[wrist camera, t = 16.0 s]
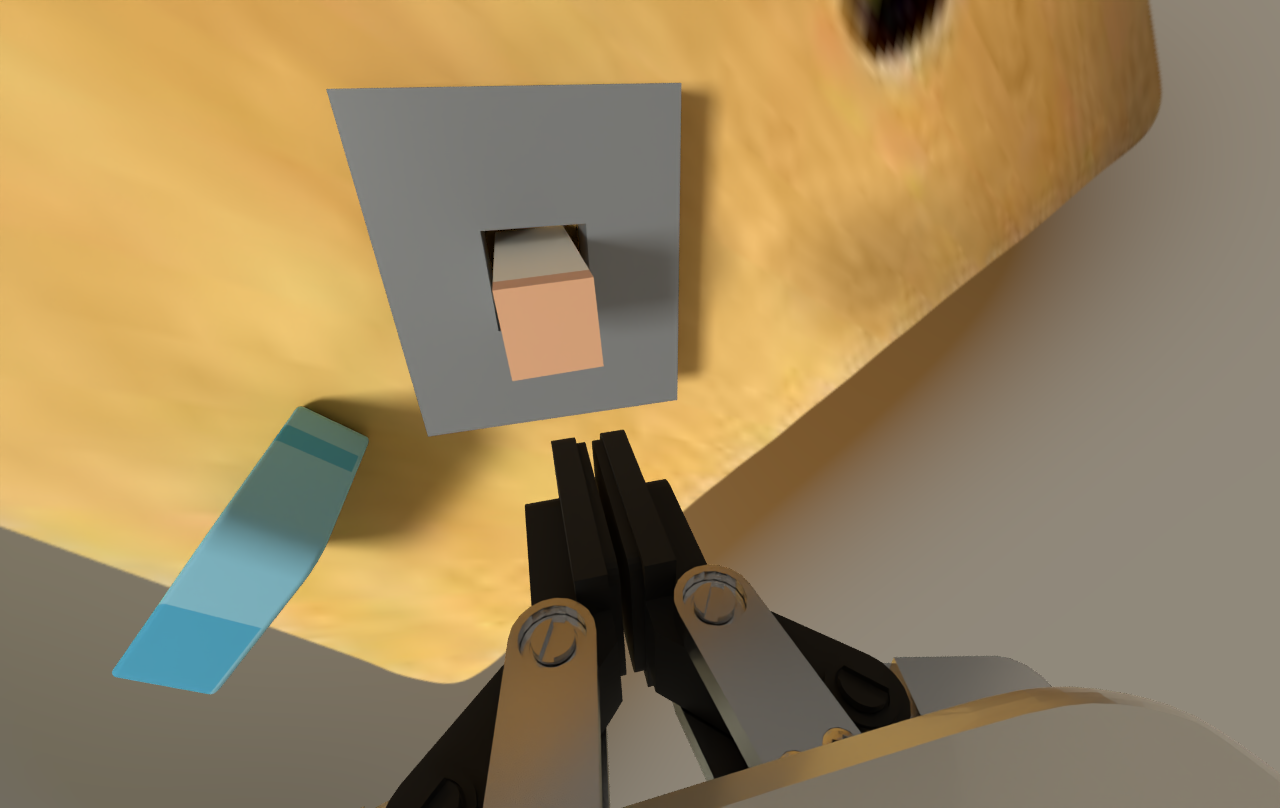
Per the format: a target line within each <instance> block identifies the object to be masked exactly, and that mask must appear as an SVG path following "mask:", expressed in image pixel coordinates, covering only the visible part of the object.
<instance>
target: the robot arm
mask: <svg viewBox="0 0 1280 808" xmlns="http://www.w3.org/2000/svg"><path fill="white" fill-rule="evenodd" d="M551 444H552V451H553V458H554V465H555V472H556V479H557V487H558V494H559V498H558V499H552V500H547V501H541V502H536V503H530V504H525V516H526V531H527V546H528V560H529V575H530V590H531V604H532V606H531V607H529V608H528V609H527V610H526V611H525V612H523V613H522V614H521V615H520V616H519V617H518V619H517V620H516V622H515V623H514V625H513V626H512V628H511V631H510V635H509V638H508V642H507V649H506V656H505V663H504V665H503V666H502V667H501V668H500V670H499V671H498V672H497V673H496V674H495V675H494V676H493V678H492V679H491V680H490V681H489V682H488V683H487V685H486V686H485V687H484V688H483V689H482V690H481V691H480V693H479V694H478V695H477V696H476V697H475V698H474V700H473V701H472V702H471V703H470V704H469V706H468V707H467V708H466V709H465V710H464V711H463V712H462V714H461V715H460V716H459V717H458V718H457V719H456V721H455V722H454V723H453V724H452V725H451V727H450V728H449V729H448V730H447V731H446V732H445V734H444V735H443V736H442V737H441V738H440V739H439V741H438V742H437V743H436V744H435V745H434V746H433V748H432V749H431V750H430V751H429V752H428V753H427V754H426V755H425V757H424V758H423V759H422V760H421V761H420V763H419V764H418V765H417V766H416V767H415V768H414V769H413V771H412V772H411V773H410V774H409V775H408V776H407V778H406V779H405V780H404V781H403V782H402V783H401V785H400V786H399V787H398V789H397V790H396V792H395V793H394V795H393V796H392V798H391V799H390V800H389V801H387V802H385V803H383V804H382V805H380V806H378V807H376V808H610V784H609V758H608V757H609V756H608V731H607V725H608V723H609V722H610V720H611V719H612V717H613V716H614V714H615V712H616V711H617V709H618V707H619V706H620V704H621V702H622V688H621V676H623V675H626V659H625V644H624V634H625V637H626V642H627V646H628V650H629V654H630V658H631V662H632V666H633V670H634V672H639V671H643V670H644V673H645V677H646V681H647V684H648V687H650V686H654V687H655V691H656V692H657V693H659V694H660V695H662V696H664V697H665V698H667V699H669V700H671V701H672V703H673V706H674V709H675V713H676V715H677V717H678V720H679V722H680V724H681V726H682V729H683V731H684V733H685V735H686V737H687V739H688V742H689V744H690V746H691V748H692V750H693V753H694V755H695V757H696V759H697V761H698V764H699V766H700V768H701V770H702V772H703V775H704V777H705V779H706V782H703V783H700V784H696V785H693V786H690V787H687V788H684V789H680V790H677V791H674V792H671V793H668V794H664V795H661V796H658V797H655V798H652V799H648V800H645V801H642V802H639V803H636V804H632V805H629V806H626V807H623V808H1280V774H1279V773H1278V772H1277V771H1275V770H1274V769H1273V768H1271V767H1270V766H1269V765H1268V764H1266V763H1265V762H1264V761H1263V760H1261V759H1260V758H1258V757H1257V756H1256V755H1254V754H1253V753H1251V752H1250V751H1249V750H1247V749H1246V748H1245V747H1243V746H1242V745H1240V744H1239V743H1237V742H1236V741H1234V740H1233V739H1231V738H1230V737H1228V736H1227V735H1225V734H1224V733H1222V732H1221V731H1219V730H1218V729H1216V728H1214V727H1213V726H1211V725H1209V724H1207V723H1206V722H1204V721H1202V720H1201V719H1199V718H1197V717H1195V716H1193V715H1191V714H1189V713H1187V712H1184V711H1182V710H1179V709H1177V708H1175V707H1172V706H1170V705H1168V704H1164V703H1161V702H1157V701H1154V700H1151V699H1148V698H1144V697H1139V696H1135V695H1131V694H1127V693H1121V692H1114V691H1109V690H1103V689H1094V688H1082V687H1052V686H1051V685H1050V684H1049V683H1048V682H1047V681H1046V680H1045V679H1044V678H1043V677H1042V676H1041V675H1040V674H1038V673H1037V672H1035V671H1034V670H1032V669H1031V668H1030V667H1028V666H1027V665H1025V664H1023V663H1020V662H1018V661H1015V660H1013V659H1011V658H1006V657H999V656H954V657H953V656H952V657H894V658H893V661H892V663H882V662H880V661H879V660H877V659H875V658H873V657H871V656H870V655H868V654H866V653H864V652H861V651H859V650H857V649H855V648H852V647H850V646H848V645H846V644H843V643H841V642H839V641H837V640H834V639H832V638H830V637H828V636H825V635H823V634H821V633H819V632H816V631H814V630H812V629H810V628H808V627H805V626H803V625H801V624H798V623H796V622H794V621H792V620H790V619H787V618H785V617H783V616H780V615H778V614H776V613H774V612H772V611H770V610H769V609H768V607H767V606H766V605H765V603H764V602H763V601H762V600H761V598H760V597H759V595H758V594H757V593H756V591H755V590H754V588H753V587H752V586H751V584H750V583H749V582H748V581H747V580H746V579H745V578H744V577H743V576H742V575H741V574H739V573H737V572H736V571H734V570H732V569H730V568H727V567H723V566H720V565H707V563H706V561H705V559H704V557H703V555H702V553H701V550H700V549H699V546H698V544H697V542H696V540H695V538H694V536H693V533H692V531H691V529H690V527H689V525H688V523H687V520H686V518H685V516H684V514H683V512H682V510H681V508H680V505H679V503H678V501H677V499H676V497H675V495H674V493H673V490H672V488H671V486H670V484H669V483H668V481H667V480H666V479H663V480H657V481H652V482H646V483H645V480H644V478H643V476H642V473H641V471H640V468H639V466H638V463H637V461H636V458H635V456H634V453H633V451H632V448H631V446H630V443H629V441H628V438H627V436H626V433H625V431H624V430H618V431H612V432H605V433H600V440H595V441H592V449H593V460H594V471H595V477H594V473H593V470H592V466H591V462H590V458H589V455H588V451H587V447H586V444H585V442H582V443H576V440H575V437H574V438H567V439H561V440H555V441H551ZM362 808H365V807H362Z"/></svg>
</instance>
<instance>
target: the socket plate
mask: <svg viewBox="0 0 1280 808" xmlns="http://www.w3.org/2000/svg"><path fill="white" fill-rule="evenodd" d="M326 90H327V93H328V96H329V100H330V103H331V107H332V110H333V113H334V117H335V120H336V124H337V127H338V131H339V134H340V137H341V141H342V144H343V148H344V151H345V154H346V158H347V161H348V165H349V168H350V171H351V175H352V178H353V182H354V185H355V189H356V192H357V195H358V199H359V202H360V206H361V209H362V212H363V216H364V219H365V223H366V226H367V230H368V233H369V236H370V240H371V243H372V247H373V250H374V253H375V257H376V260H377V264H378V267H379V270H380V274H381V277H382V281H383V284H384V288H385V291H386V294H387V298H388V301H389V305H390V308H391V311H392V315H393V318H394V322H395V325H396V329H397V332H398V335H399V339H400V342H401V346H402V349H403V352H404V356H405V359H406V363H407V366H408V369H409V373H410V376H411V380H412V383H413V387H414V390H415V393H416V397H417V400H418V404H419V407H420V410H421V414H422V417H423V421H424V424H425V428H426V431H427V434H428V436H435V435H442V434H449V433H456V432H462V431H469V430H476V429H483V428H489V427H496V426H503V425H510V424H517V423H523V422H530V421H537V420H544V419H551V418H557V417H564V416H571V415H578V414H585V413H591V412H598V411H605V410H612V409H618V408H625V407H632V406H639V405H646V404H652V403H659V402H666V401H673V400H677V373H678V296H679V219H680V142H681V83H650V84H592V85H533V86H474V87H416V88H357V89H326ZM572 224H577V225H578V236H579V248H580V255H581V257H582V259H583V260H584V262H585V264H586V265H587V267H588V269H589V270H590V272H591V274H592V275H593V277H594V285H595V294H596V303H597V312H598V321H599V329H600V338H601V347H602V356H603V365H604V366H602V367H596V368H590V369H584V370H578V371H572V372H566V373H560V374H553V375H547V376H541V377H535V378H529V379H523V380H517V381H512V377H511V373H510V368H509V364H508V359H507V355H506V350H505V346H504V341H503V337H502V332H501V328H500V323H499V319H498V314H497V310H496V305H495V301H494V296H493V292H492V286H493V274H492V269H491V263H490V258H489V252H488V246H487V241H486V235H485V231H489V230H502V229H516V228H530V227H544V226H558V225H572Z"/></svg>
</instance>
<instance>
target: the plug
mask: <svg viewBox="0 0 1280 808" xmlns="http://www.w3.org/2000/svg"><path fill="white" fill-rule="evenodd" d="M492 292H493V296H494V301H495V305H496V310H497V314H498V319H499V323H500V328H501V332H502V337H503V341H504V346H505V350H506V355H507V359H508V364H509V368H510V373H511V377H512V381H517V380H523V379H529V378H535V377H541V376H547V375H553V374H560V373H566V372H572V371H578V370H584V369H590V368H596V367H602V366H604V365H603V356H602V347H601V338H600V329H599V321H598V312H597V303H596V294H595V285H594V277H593V275H592V274H591V272H590V270H589V269H588V267H587V265H586V264H585V262H584V260H583V259H582V257H581V255H580V254H579V252H578V250H577V249H576V247H575V245H574V244H573V242H572V240H571V238H570V237H569V235H568V233H567V232H566V230H565V228H564V227H563V225H558V226H547V227H538V228H529V229H520V230H511V231H502V232H495V247H494V267H493V286H492Z"/></svg>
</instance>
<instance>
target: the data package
mask: <svg viewBox="0 0 1280 808" xmlns="http://www.w3.org/2000/svg"><path fill="white" fill-rule="evenodd" d="M368 442H369V439H368V437H366V436H364V435H362V434H360V433H358V432H356V431H354V430H351V429H349V428H347V427H345V426H343V425H341V424H339V423H337V422H334V421H332V420H330V419H328V418H326V417H324V416H322V415H320V414H318V413H315V412H313V411H311V410H309V409H307V408H305V407H302V406H300V407H298V408H296V410H295V411H294V412H293V414H292V415H291V417H290V418H289V420H288V421H287V422H286V424H285V425H284V427H283V428H282V429H281V431H280V432H279V434H278V435H277V436H276V438H275V439H274V441H273V442H272V443H271V445H270V446H269V448H268V449H267V450H266V452H265V453H264V455H263V456H262V457H261V459H260V460H259V462H258V463H257V464H256V466H255V467H254V469H253V470H252V472H251V473H250V474H249V476H248V477H247V479H246V480H245V481H244V483H243V484H242V486H241V487H240V488H239V490H238V491H237V493H236V494H235V495H234V497H233V498H232V500H231V501H230V502H229V504H228V505H227V507H226V508H225V509H224V511H223V512H222V514H221V515H220V517H219V518H218V519H217V521H216V522H215V524H214V525H213V527H212V528H211V529H210V531H209V532H208V534H207V535H206V536H205V538H204V539H203V541H202V542H201V544H200V545H199V547H198V548H197V549H196V551H195V552H194V554H193V555H192V557H191V558H190V560H189V561H188V562H187V564H186V565H185V567H184V568H183V570H182V571H181V573H180V574H179V575H178V577H177V578H176V580H175V581H174V583H173V584H172V586H171V587H170V588H169V590H168V591H167V593H166V594H165V596H164V597H163V598H162V600H161V601H160V603H159V604H158V606H157V607H156V609H155V610H154V612H153V613H152V614H151V616H150V618H149V619H148V620H147V622H146V623H145V625H144V626H143V628H142V629H141V630H140V632H139V633H138V635H137V636H136V638H135V639H134V640H133V642H132V643H131V645H130V646H129V648H128V649H127V651H126V652H125V653H124V655H123V656H122V658H121V659H120V661H119V662H118V664H117V665H116V667H115V668H114V669H113V672H112V674H113V676H115V677H119V678H124V679H129V680H135V681H141V682H146V683H151V684H157V685H162V686H168V687H173V688H179V689H184V690H189V691H195V692H200V693H206V694H213V693H215V692H217V691H218V690H219V689H220V688H221V687H222V685H223V684H224V683H225V681H226V680H227V679H228V677H229V676H230V675H231V674H232V673H233V671H234V670H235V669H236V668H237V666H238V665H239V664H240V662H241V661H242V660H243V659H244V657H245V656H246V655H247V654H248V652H249V651H250V650H251V648H252V647H253V646H254V645H255V643H256V642H257V641H258V640H259V638H260V637H261V636H262V634H263V633H264V632H265V631H266V629H267V628H268V627H269V626H270V624H271V623H272V622H273V620H274V619H275V618H276V617H277V615H278V614H279V613H280V612H281V610H282V609H283V608H284V606H285V605H286V604H287V603H288V601H289V600H290V599H291V598H292V596H293V595H294V594H295V593H296V591H297V590H298V589H299V587H300V586H301V585H302V584H303V582H304V581H305V580H306V578H307V577H308V576H309V574H310V573H311V571H312V570H313V568H314V566H315V565H316V563H317V562H318V560H319V558H320V556H321V555H322V553H323V551H324V549H325V547H326V545H327V543H328V540H329V538H330V535H331V533H332V530H333V528H334V526H335V523H336V521H337V518H338V516H339V513H340V511H341V509H342V506H343V504H344V501H345V499H346V496H347V494H348V492H349V489H350V487H351V484H352V482H353V479H354V477H355V474H356V472H357V470H358V467H359V465H360V462H361V460H362V457H363V455H364V453H365V450H366V448H367V445H368Z"/></svg>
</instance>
